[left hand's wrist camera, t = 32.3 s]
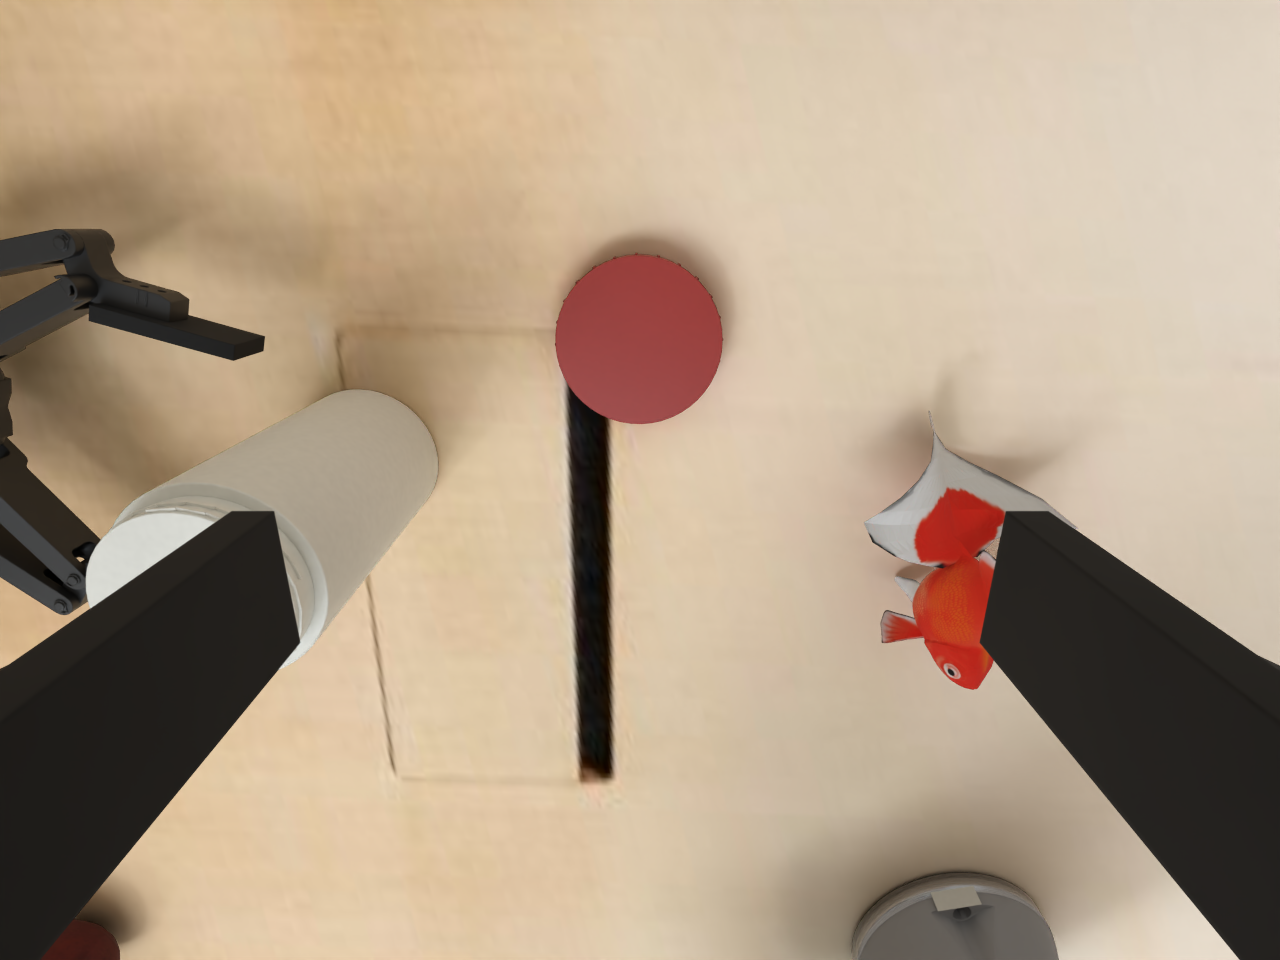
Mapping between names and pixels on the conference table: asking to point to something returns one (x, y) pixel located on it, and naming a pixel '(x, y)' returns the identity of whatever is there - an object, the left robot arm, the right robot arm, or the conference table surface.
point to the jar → (292, 501)
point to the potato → (84, 943)
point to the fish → (949, 557)
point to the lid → (639, 339)
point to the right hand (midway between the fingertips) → (238, 475)
